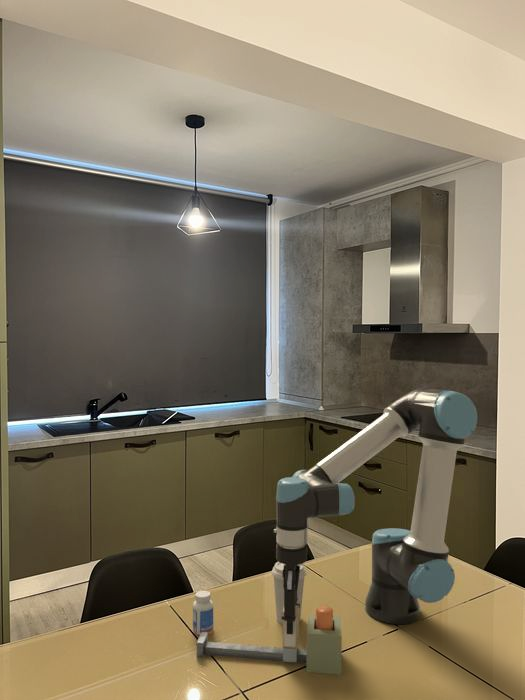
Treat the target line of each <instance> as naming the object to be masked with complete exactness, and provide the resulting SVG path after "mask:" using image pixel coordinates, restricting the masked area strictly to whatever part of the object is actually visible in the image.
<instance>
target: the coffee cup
mask: <svg viewBox="0 0 525 700" xmlns="http://www.w3.org/2000/svg"><path fill="white" fill-rule="evenodd" d="M284 565H285V564H283V563H280V562H278V561H277V562H275V563H274V566H273V567H272V570H271V576H273V587H274V597H275V598H274V601H275V612H276V613H275V614H276V621H277V622H278V624H281V625H282V626H283V620H282V619H281V617H282V616H283V608H284V588H283V580H284V578H283V569H284ZM298 566H300V573H299V583H298V589H297V598H298V600H297V604H300V608H299V623H300V622H301V618H302V608H303V597H304V596H303V595H304V587H305V586H304V585H305V577H306V576H307V570H306V568H305V567H304V563H303V564H298Z"/></svg>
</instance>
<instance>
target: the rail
mask: <svg viewBox="0 0 525 700" xmlns="http://www.w3.org/2000/svg"><path fill="white" fill-rule="evenodd" d="M205 656H210V657H213V656H214V657H224V658H234V659H235V658H236V659H245V660H246V659H247V660H260V661H272V662H282V663H283V662H284V663H287V662H286V661H283V647H277V646H266V645H253V644H252V645H251V644H240V643H239V644H237V643H230V642H229V643H227V642H216V641H209V634H208V632H201V634H200V635H199V636H198V639H197V642H196V658H198V659H204V657H205ZM306 658H307V649H303V648H298V649H297V662H292V663H293V664H294V663H295V664H306Z"/></svg>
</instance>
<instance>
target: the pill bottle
mask: <svg viewBox="0 0 525 700" xmlns="http://www.w3.org/2000/svg"><path fill="white" fill-rule="evenodd" d="M194 600H195V601H193V603H192V631H193V633H194V634H196V635H197V636H200V634H201V632H208V635H209V634H212V633H213V631H214V602H213V601H212V600H211V592H210V591H207V590H198V591H197V592H196V593H195V599H194Z"/></svg>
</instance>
